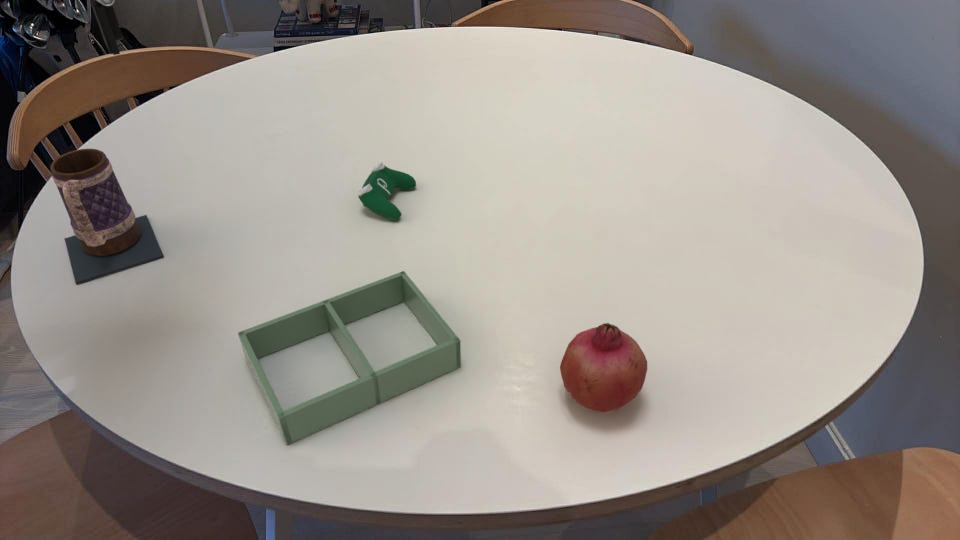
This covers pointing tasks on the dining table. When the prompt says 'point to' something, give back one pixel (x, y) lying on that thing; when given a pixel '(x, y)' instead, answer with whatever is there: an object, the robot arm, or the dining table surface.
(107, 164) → the mug
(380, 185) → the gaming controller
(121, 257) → the mat
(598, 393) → the fruit
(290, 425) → the divided box
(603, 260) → the dining table surface
